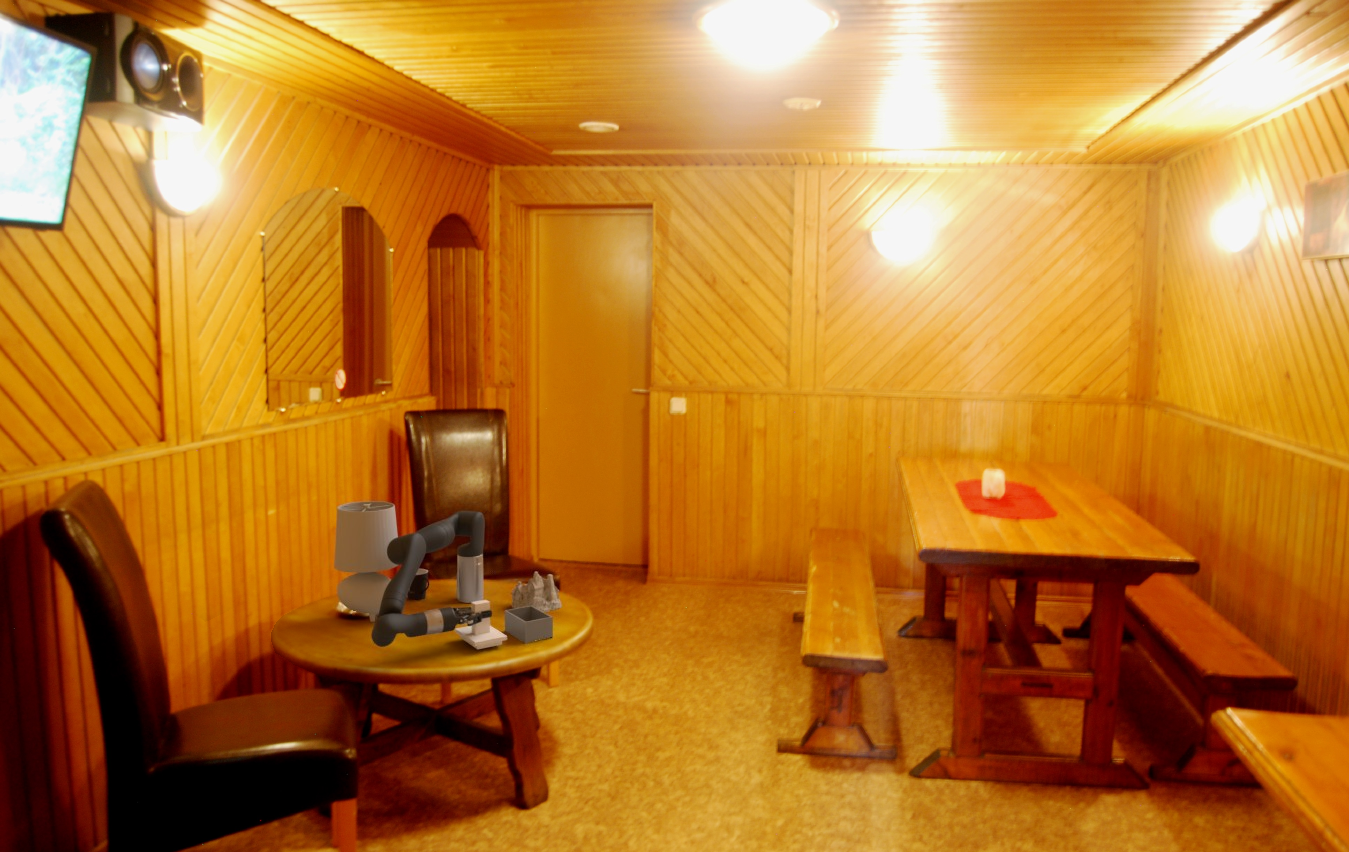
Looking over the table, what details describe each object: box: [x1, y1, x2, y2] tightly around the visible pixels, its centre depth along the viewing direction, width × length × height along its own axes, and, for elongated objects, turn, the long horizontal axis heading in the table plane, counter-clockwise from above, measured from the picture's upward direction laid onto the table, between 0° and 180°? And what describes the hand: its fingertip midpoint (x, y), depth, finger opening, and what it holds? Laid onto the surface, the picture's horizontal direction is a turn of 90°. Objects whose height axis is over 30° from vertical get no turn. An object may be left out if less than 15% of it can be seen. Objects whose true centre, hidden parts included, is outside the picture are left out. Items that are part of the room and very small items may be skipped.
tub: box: [504, 606, 554, 644], centre depth 310 cm, size 10×15×7 cm, turn 36°
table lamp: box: [333, 500, 399, 623], centre depth 323 cm, size 23×22×40 cm
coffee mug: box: [407, 568, 430, 601], centre depth 347 cm, size 12×9×10 cm
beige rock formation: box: [510, 571, 562, 613], centre depth 340 cm, size 16×16×15 cm
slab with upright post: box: [454, 599, 508, 650], centre depth 300 cm, size 11×16×13 cm
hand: (488, 611), depth 301 cm, fingers closed on slab with upright post, 3 cm apart
